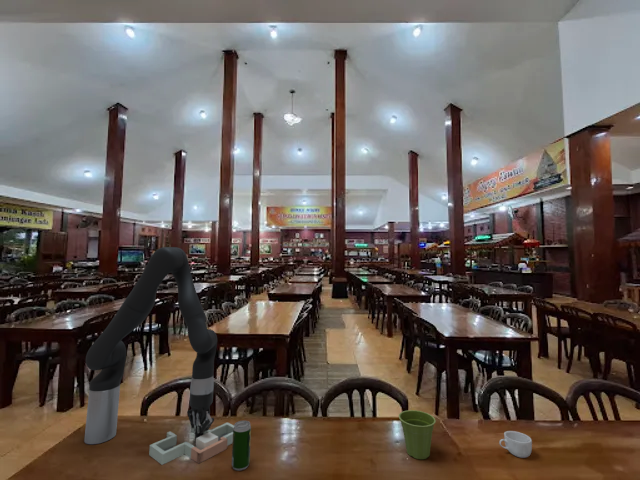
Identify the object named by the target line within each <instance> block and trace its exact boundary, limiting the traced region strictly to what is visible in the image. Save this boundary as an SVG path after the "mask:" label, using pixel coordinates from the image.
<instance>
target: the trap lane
mask: <svg viewBox="0 0 640 480" xmlns="http://www.w3.org/2000/svg"><path fill="white" fill-rule="evenodd" d="M233 428H234V424H232V423H230V422H228V421H227V422H225V423H222V424H221V425H218V426H216V427H214V428H212V429H210V428H209V429H208V431H205V432H204V434H206V433H208V432H211V433H212V434H214V435H216V436H218V442H216V443H214V444H212V445H210V446H208V447H206V448H204V449H202V450H200V449H198V448H196V445H195V446H194V445H193V444H192V443H190V442H188V441H187V440H186V441H184V442H182V443H180V444H177V441H178V435H177V434H175V433H174V432H172V431H167V432H166V438H163V439H161V440H159V441H156V442H154V443H152V444H149V450H148V451H149V452H148V453H149V454H148V455H149V457H151V458H152V459H154V460H155V461H156V462H157V463H159V464H160V465H162V466H163V465H165V464H167V463H169V462H171V461H173V460H175V459H177V458H179V457H181V456H183V455H185V456H187V457H188V458H189V459H191V460H192V461H194V462H195V463H197V464H200V463H202V462H205V461H206V460H208V459H210V458H212V457H215V456H216V455H218V454H220V453H222V452H224V451H226V450H227V449H228V446H230V445H231V444H233ZM190 431H191V433H194V434H195V432H194V428H191V427H190ZM204 434H203V435H204Z"/></svg>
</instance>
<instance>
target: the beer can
mask: <svg viewBox="0 0 640 480" xmlns="http://www.w3.org/2000/svg"><path fill="white" fill-rule="evenodd" d="M233 425H234V428H233V443H232V445H231V448H232V449H231V467H232V469H233V471H238V472H239V471H241V472H242V471H244V470H246V469H248V467H249V465H250V462H251V434H252V426H251V422H250V421H249V420H239V421H236V422H235V423H234V424H233Z"/></svg>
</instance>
